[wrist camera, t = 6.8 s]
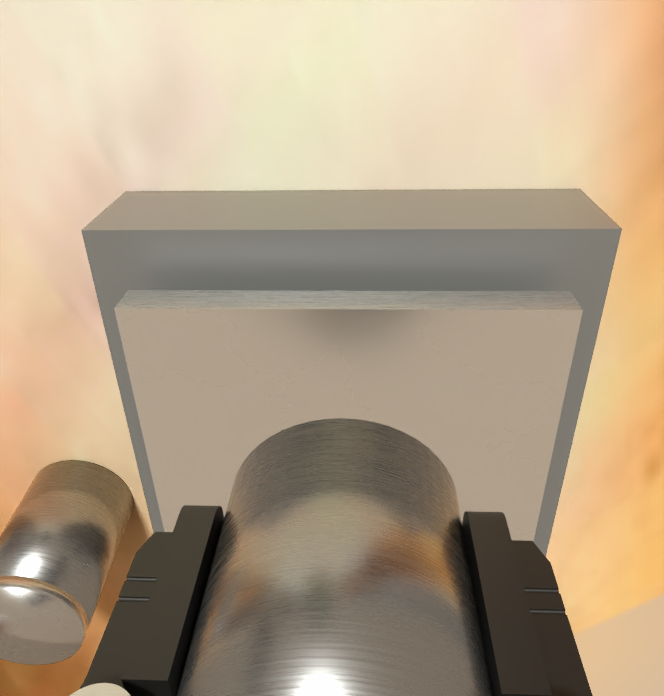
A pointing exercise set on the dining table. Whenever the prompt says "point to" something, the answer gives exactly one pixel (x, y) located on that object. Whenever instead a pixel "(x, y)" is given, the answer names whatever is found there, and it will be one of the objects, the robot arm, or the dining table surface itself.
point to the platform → (352, 382)
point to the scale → (358, 263)
